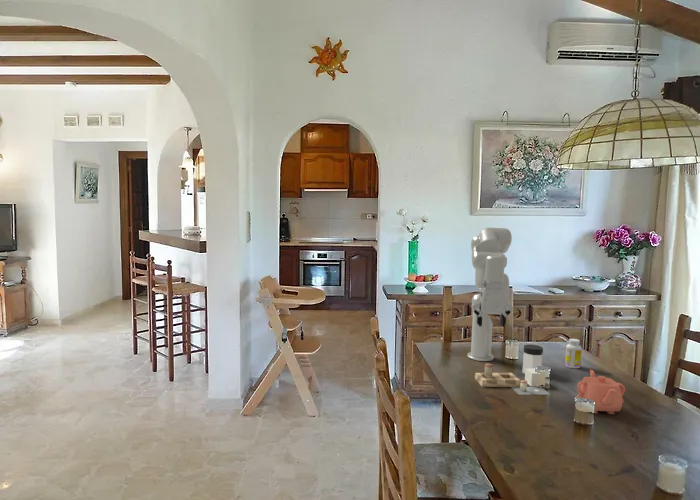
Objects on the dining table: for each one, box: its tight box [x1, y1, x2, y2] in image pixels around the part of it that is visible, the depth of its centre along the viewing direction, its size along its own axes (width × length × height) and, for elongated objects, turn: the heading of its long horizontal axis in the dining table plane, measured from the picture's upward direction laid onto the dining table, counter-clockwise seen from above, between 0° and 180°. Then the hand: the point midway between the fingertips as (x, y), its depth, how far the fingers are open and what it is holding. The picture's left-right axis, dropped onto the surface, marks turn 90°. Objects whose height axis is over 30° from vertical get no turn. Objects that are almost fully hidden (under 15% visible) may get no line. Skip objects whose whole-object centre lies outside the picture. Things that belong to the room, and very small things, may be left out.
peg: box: [484, 363, 494, 378], centre depth 214 cm, size 3×3×8 cm
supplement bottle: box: [564, 338, 583, 369], centre depth 240 cm, size 7×7×13 cm
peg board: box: [474, 372, 521, 388], centre depth 214 cm, size 9×16×3 cm, turn 95°
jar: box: [521, 344, 544, 375], centre depth 229 cm, size 9×8×12 cm
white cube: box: [524, 369, 540, 387], centre depth 214 cm, size 6×6×6 cm
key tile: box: [510, 379, 552, 396], centre depth 206 cm, size 8×13×4 cm, turn 95°
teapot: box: [576, 369, 626, 415], centre depth 190 cm, size 15×17×13 cm
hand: (490, 325), depth 212 cm, fingers open, 9 cm apart
